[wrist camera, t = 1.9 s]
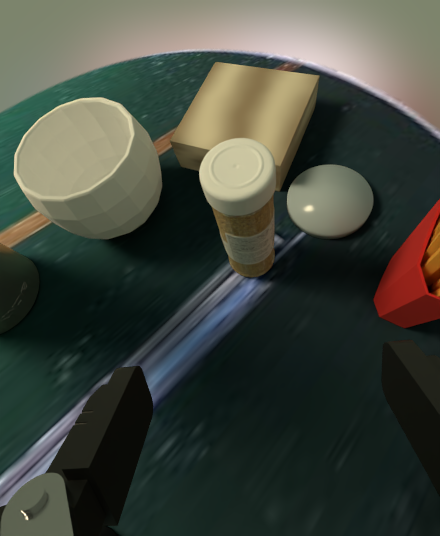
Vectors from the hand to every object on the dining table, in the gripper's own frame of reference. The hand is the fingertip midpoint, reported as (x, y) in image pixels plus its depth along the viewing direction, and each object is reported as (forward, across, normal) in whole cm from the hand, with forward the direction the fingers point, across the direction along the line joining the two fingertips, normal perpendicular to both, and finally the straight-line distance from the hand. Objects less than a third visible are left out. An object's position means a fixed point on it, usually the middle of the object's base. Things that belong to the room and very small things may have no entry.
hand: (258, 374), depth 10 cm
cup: (+26, +14, -2) cm, 30 cm away
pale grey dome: (+23, -8, 0) cm, 25 cm away
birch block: (+31, -1, -7) cm, 32 cm away
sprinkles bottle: (+20, 0, +4) cm, 21 cm away
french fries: (+17, -13, +7) cm, 22 cm away
